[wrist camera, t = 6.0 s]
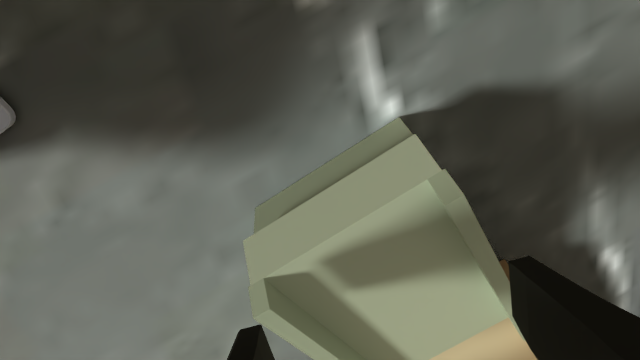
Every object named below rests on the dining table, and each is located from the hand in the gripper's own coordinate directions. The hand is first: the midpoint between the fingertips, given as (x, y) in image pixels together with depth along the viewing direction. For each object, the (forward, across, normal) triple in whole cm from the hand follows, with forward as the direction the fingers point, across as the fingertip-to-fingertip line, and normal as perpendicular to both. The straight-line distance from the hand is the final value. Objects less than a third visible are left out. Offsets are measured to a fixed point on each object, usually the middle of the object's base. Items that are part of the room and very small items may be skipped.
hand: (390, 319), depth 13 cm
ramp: (+7, -1, +3) cm, 8 cm away
